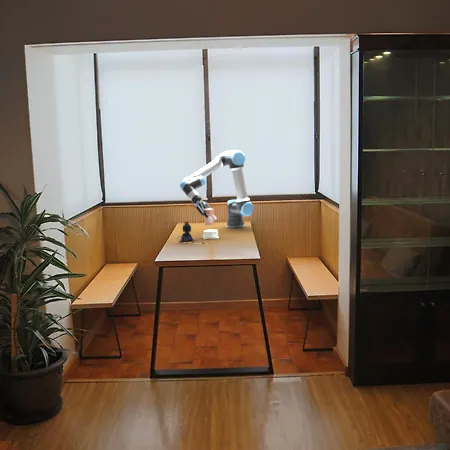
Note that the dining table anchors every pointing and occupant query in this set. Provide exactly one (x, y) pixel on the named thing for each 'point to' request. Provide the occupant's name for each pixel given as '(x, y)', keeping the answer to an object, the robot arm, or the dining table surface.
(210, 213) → the tall brick
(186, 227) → the figurine
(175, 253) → the dining table surface
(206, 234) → the base brick
